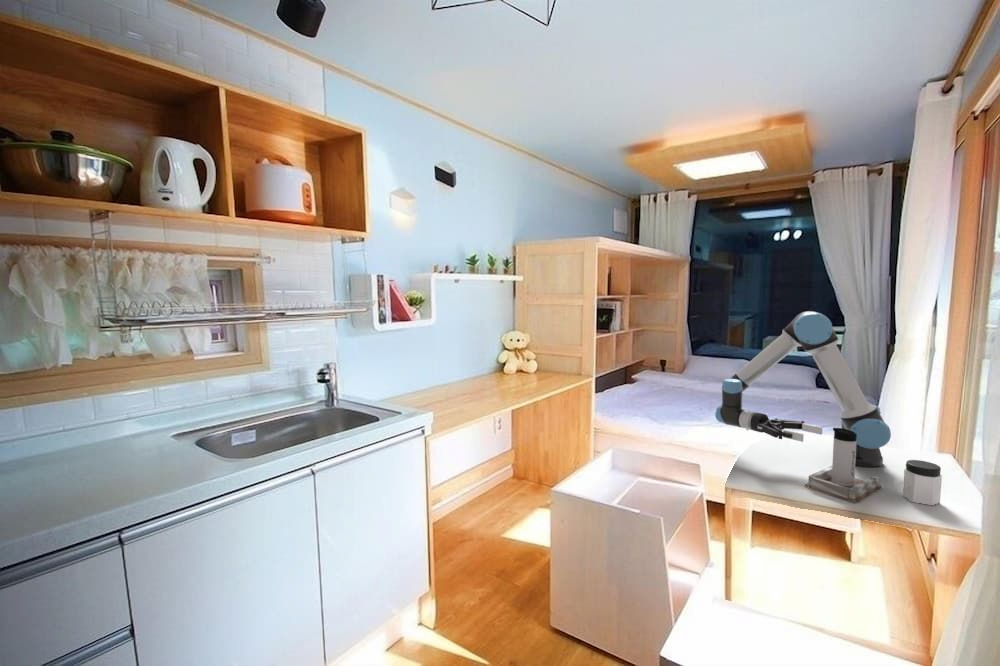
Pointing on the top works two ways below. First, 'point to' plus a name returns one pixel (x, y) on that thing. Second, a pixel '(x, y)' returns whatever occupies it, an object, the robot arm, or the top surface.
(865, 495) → the tray
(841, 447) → the travel mug
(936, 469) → the jar
